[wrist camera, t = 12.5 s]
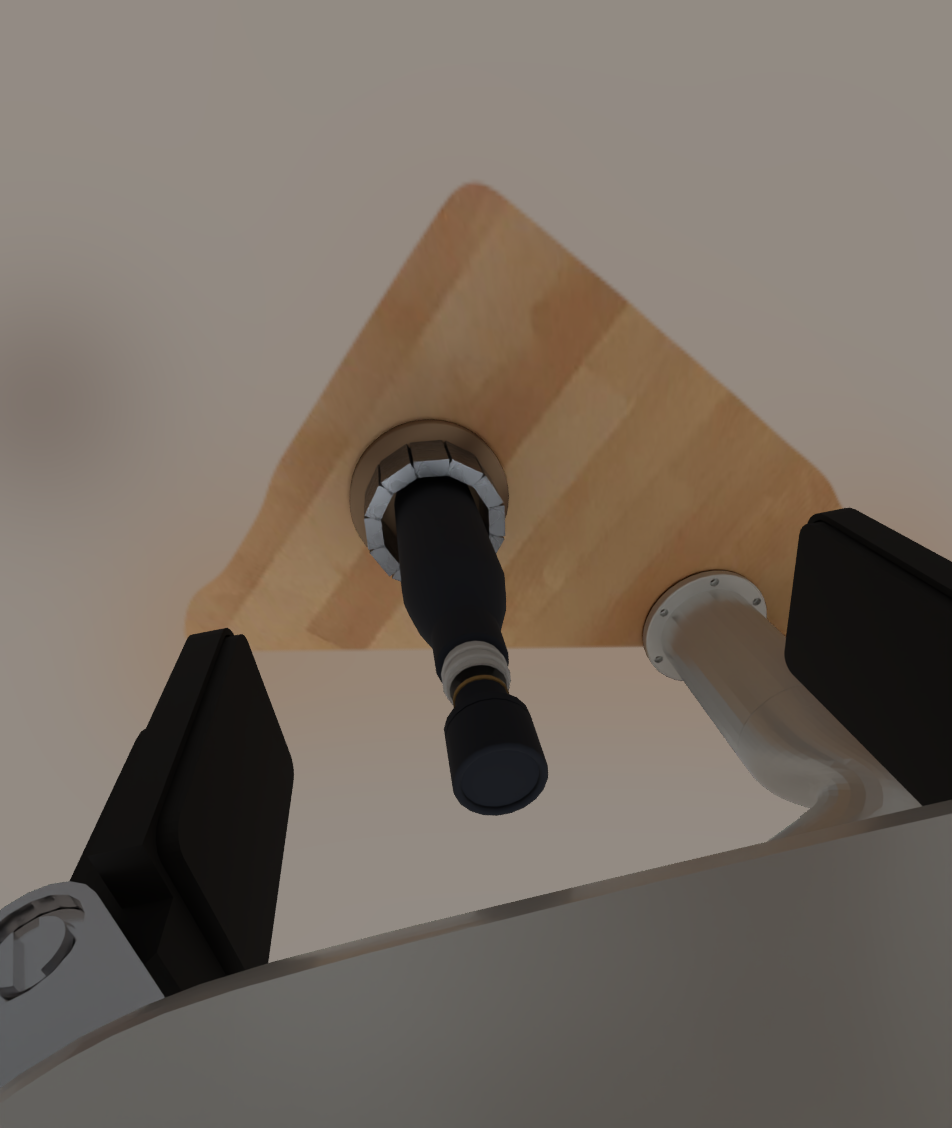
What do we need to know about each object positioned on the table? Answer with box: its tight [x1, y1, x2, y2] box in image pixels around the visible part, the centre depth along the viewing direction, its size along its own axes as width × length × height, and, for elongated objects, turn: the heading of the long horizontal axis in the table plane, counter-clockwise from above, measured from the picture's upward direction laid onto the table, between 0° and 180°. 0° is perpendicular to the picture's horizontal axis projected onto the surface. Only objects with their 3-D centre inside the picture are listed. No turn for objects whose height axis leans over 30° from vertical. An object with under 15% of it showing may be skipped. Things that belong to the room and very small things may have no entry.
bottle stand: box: [350, 420, 509, 581], centre depth 49 cm, size 13×13×6 cm
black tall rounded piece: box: [394, 475, 548, 816], centre depth 37 cm, size 6×6×30 cm
